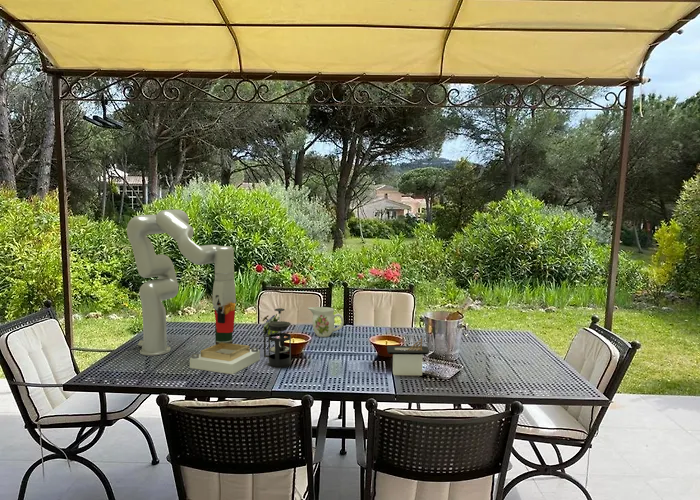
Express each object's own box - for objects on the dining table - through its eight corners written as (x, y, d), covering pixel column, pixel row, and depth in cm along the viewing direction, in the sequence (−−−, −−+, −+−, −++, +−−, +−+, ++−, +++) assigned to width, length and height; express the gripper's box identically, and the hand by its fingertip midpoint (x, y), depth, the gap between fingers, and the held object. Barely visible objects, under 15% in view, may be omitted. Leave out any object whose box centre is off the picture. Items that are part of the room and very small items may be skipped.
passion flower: (266, 343, 265) (264, 321, 271) (287, 339, 264) (285, 317, 270) (260, 335, 255) (259, 312, 261) (282, 331, 255) (280, 309, 260)
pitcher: (342, 338, 254) (343, 310, 252) (306, 337, 254) (306, 310, 253) (344, 332, 265) (344, 306, 263) (308, 332, 265) (308, 305, 264)
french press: (295, 361, 218) (295, 306, 216) (290, 368, 208) (290, 311, 206) (267, 360, 219) (267, 306, 217) (261, 367, 210) (260, 310, 207)
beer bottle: (228, 353, 228) (227, 299, 226) (212, 352, 230) (211, 298, 227) (235, 348, 236) (235, 295, 233) (219, 347, 237) (219, 295, 235)
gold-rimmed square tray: (189, 367, 208) (189, 352, 207) (219, 354, 227) (219, 339, 226) (232, 374, 201) (232, 357, 200) (259, 359, 219) (259, 344, 219)
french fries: (214, 332, 210) (213, 303, 209) (216, 330, 214) (216, 301, 213) (235, 332, 210) (234, 303, 209) (237, 330, 214) (236, 301, 213)
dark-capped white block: (445, 363, 218) (446, 330, 216) (459, 387, 190) (460, 349, 188) (361, 363, 218) (362, 329, 216) (363, 387, 190) (363, 348, 188)
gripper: (228, 273, 219) (229, 316, 221) (203, 279, 204) (204, 325, 205) (244, 274, 217) (244, 318, 218) (219, 280, 201) (220, 327, 203)
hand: (225, 321), depth 212 cm, fingers closed on french fries, 4 cm apart
